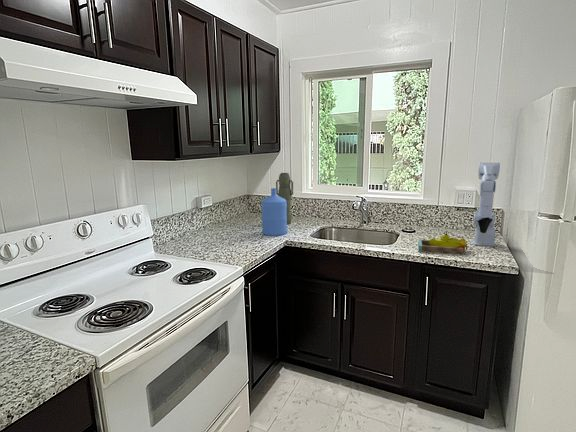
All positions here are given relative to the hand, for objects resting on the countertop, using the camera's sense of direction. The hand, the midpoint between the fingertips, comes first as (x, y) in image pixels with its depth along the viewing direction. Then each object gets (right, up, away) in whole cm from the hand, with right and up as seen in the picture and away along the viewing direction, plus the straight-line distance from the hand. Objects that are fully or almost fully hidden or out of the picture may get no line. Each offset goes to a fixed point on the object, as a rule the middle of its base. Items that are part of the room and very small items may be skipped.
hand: (483, 232), depth 174 cm
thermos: (-98, +3, +72) cm, 122 cm away
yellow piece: (-14, -9, +8) cm, 19 cm away
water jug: (-105, -3, +47) cm, 115 cm away
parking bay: (-17, -9, +8) cm, 21 cm away
